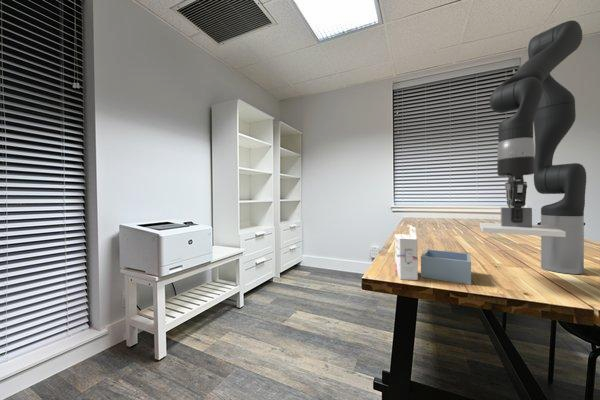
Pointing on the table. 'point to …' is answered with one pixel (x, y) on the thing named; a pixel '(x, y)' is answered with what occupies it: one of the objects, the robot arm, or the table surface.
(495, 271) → the table surface
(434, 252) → the gray open box
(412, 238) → the ink cartridge box
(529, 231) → the lid
